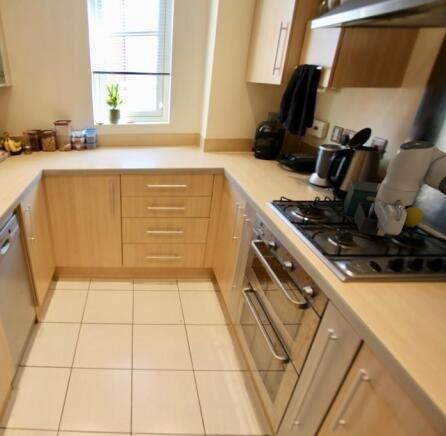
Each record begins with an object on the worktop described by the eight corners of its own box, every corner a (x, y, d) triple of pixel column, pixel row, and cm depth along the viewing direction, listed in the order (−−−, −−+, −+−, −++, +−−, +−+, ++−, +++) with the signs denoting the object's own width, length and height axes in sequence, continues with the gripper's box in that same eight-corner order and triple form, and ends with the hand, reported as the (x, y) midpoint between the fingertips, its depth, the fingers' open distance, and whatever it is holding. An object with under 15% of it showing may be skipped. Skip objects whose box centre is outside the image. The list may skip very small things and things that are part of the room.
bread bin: (385, 210, 125) (396, 185, 120) (391, 222, 117) (402, 196, 112) (342, 204, 131) (351, 180, 126) (345, 214, 123) (354, 189, 118)
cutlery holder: (382, 223, 116) (393, 198, 111) (390, 242, 105) (402, 214, 100) (353, 218, 120) (362, 193, 115) (357, 236, 109) (368, 209, 104)
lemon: (402, 222, 117) (411, 202, 113) (420, 228, 112) (430, 208, 109) (393, 225, 115) (402, 205, 111) (410, 232, 110) (420, 211, 107)
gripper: (418, 210, 87) (398, 251, 94) (401, 185, 103) (385, 222, 110) (390, 206, 90) (372, 246, 97) (377, 182, 106) (363, 218, 113)
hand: (379, 233), depth 103 cm, fingers closed
